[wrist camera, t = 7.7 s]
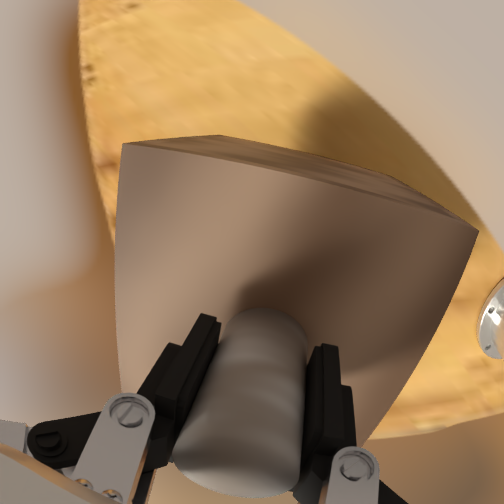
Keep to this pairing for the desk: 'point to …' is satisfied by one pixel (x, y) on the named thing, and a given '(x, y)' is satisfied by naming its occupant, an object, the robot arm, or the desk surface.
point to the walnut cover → (274, 291)
